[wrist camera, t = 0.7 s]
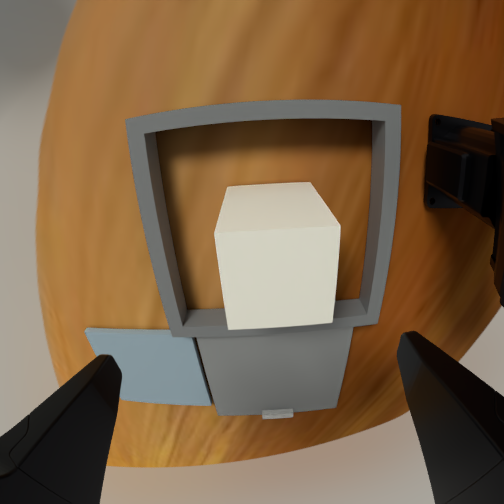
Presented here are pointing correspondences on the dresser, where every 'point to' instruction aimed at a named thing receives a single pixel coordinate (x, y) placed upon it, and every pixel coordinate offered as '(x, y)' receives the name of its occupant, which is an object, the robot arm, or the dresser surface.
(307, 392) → the grey open frame
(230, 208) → the block
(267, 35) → the dresser surface
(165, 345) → the mat
